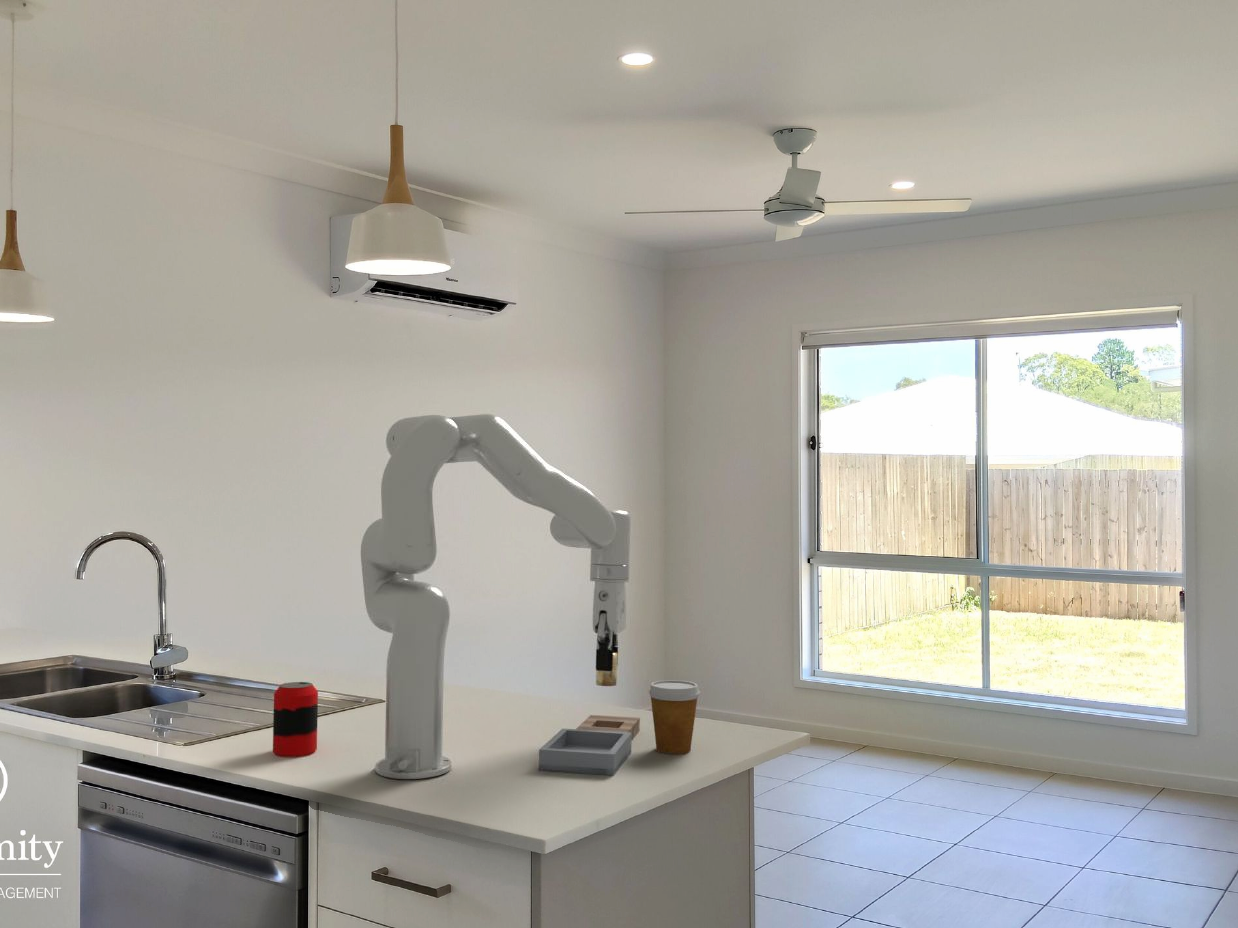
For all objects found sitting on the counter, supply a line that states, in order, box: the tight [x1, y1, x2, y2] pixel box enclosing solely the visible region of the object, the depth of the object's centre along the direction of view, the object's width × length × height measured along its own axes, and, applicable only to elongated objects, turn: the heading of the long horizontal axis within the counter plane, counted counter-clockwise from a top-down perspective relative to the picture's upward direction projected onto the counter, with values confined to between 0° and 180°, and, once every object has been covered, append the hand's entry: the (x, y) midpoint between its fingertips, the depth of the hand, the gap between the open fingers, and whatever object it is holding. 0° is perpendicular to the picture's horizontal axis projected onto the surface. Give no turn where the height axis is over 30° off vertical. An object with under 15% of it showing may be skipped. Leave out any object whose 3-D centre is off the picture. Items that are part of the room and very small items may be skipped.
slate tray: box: [538, 728, 633, 776], centre depth 183 cm, size 16×13×4 cm
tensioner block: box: [575, 714, 641, 741], centre depth 201 cm, size 14×10×2 cm
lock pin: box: [595, 652, 618, 687], centre depth 201 cm, size 4×4×6 cm
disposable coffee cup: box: [647, 679, 701, 755], centre depth 192 cm, size 10×10×12 cm
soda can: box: [272, 681, 319, 758], centre depth 187 cm, size 8×8×12 cm
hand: (606, 667), depth 201 cm, fingers closed on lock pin, 4 cm apart
